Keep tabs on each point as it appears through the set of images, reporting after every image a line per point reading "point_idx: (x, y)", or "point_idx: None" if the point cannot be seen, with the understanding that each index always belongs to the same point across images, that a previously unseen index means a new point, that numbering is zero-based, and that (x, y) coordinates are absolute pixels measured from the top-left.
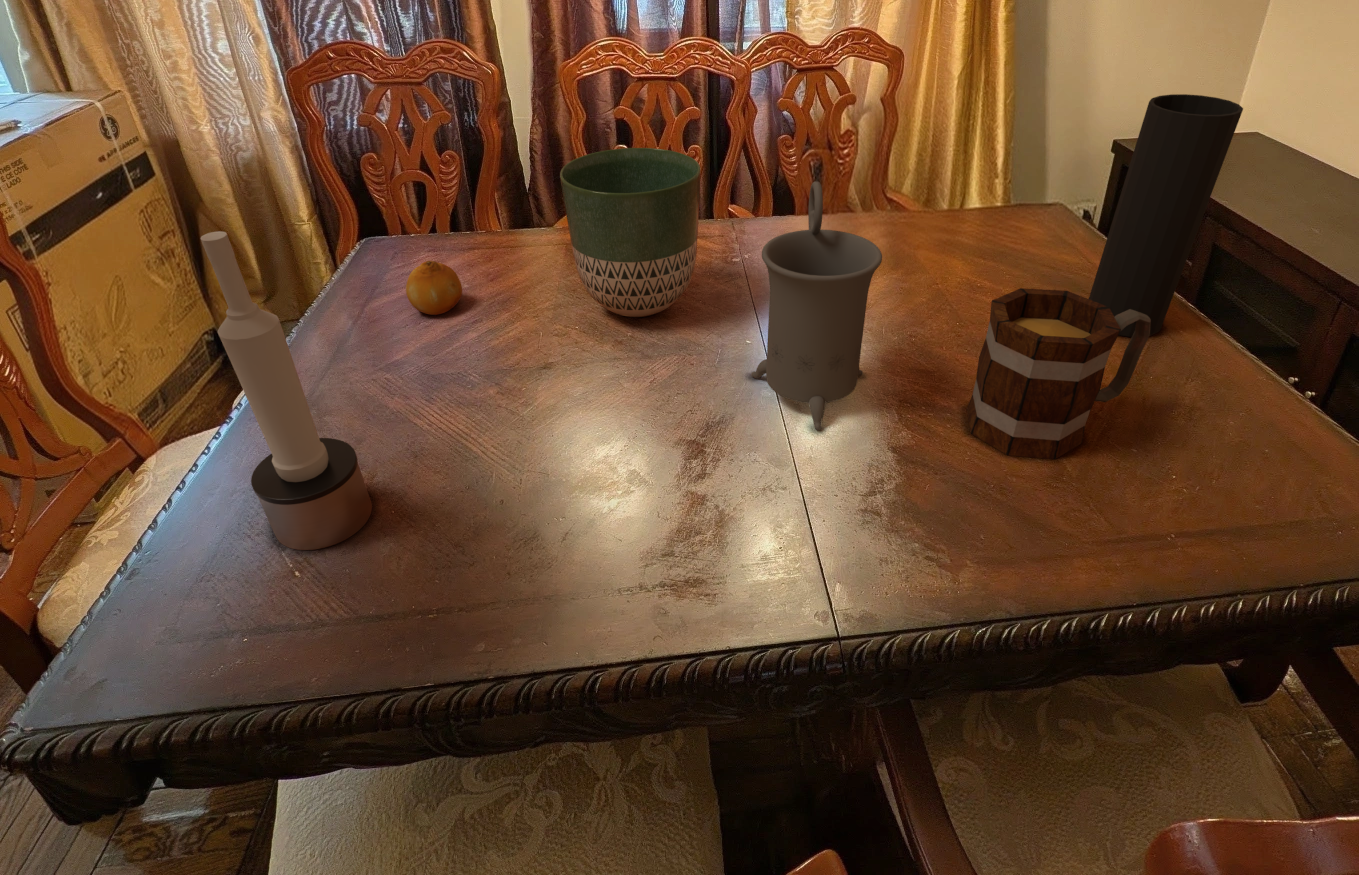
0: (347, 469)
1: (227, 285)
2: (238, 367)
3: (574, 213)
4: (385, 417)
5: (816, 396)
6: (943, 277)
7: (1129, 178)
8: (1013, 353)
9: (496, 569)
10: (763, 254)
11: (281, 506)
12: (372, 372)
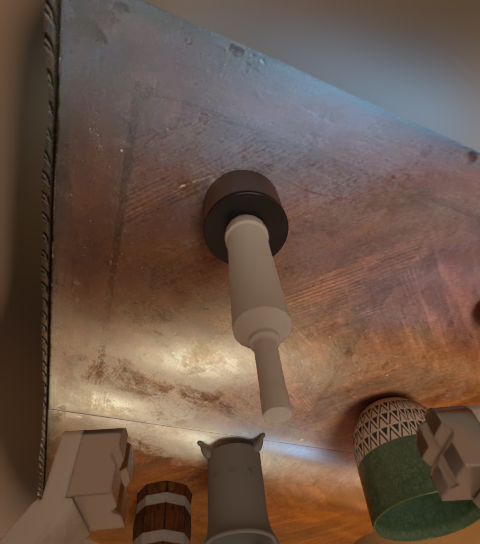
0: (227, 260)
1: (257, 367)
2: (239, 291)
3: (422, 467)
4: (353, 252)
5: (209, 457)
6: (305, 513)
7: None
8: (152, 540)
9: (141, 298)
10: (253, 532)
11: (209, 209)
12: (432, 248)
